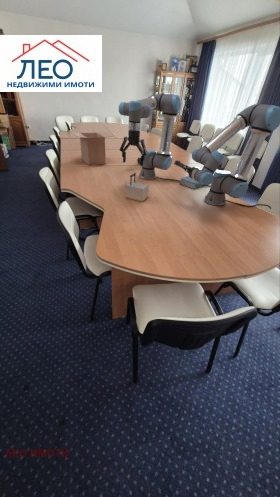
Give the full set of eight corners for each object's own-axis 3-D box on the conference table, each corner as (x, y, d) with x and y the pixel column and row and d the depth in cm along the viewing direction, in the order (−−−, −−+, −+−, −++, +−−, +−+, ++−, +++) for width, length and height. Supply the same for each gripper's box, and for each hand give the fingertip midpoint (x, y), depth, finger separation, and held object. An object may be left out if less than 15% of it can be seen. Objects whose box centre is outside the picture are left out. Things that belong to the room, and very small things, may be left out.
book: (194, 178, 210) (195, 173, 207) (209, 183, 201) (210, 178, 198) (179, 183, 196) (180, 178, 193) (194, 189, 188) (196, 183, 185)
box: (116, 165, 229) (116, 136, 213) (83, 168, 214) (80, 137, 198) (102, 154, 259) (101, 128, 243) (71, 156, 244) (68, 129, 228)
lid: (125, 186, 161) (125, 174, 156) (131, 182, 168) (131, 171, 163) (143, 190, 156) (144, 178, 151) (148, 186, 163) (149, 175, 158)
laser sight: (156, 166, 234) (157, 157, 228) (136, 164, 237) (136, 154, 231) (158, 164, 241) (159, 154, 236) (138, 162, 244) (138, 152, 238)
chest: (125, 197, 166) (126, 186, 160) (131, 193, 173) (131, 182, 167) (142, 201, 162) (143, 190, 156) (147, 197, 169) (148, 186, 163)
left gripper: (114, 127, 143) (114, 161, 155) (149, 133, 135) (147, 168, 148) (120, 126, 148) (119, 159, 161) (154, 131, 141) (151, 165, 153)
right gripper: (178, 169, 138) (166, 163, 155) (206, 187, 149) (191, 179, 167) (185, 158, 135) (172, 153, 153) (212, 177, 147) (197, 170, 164)
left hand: (132, 163), depth 154 cm, fingers open, 13 cm apart
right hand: (182, 167), depth 160 cm, fingers open, 13 cm apart
